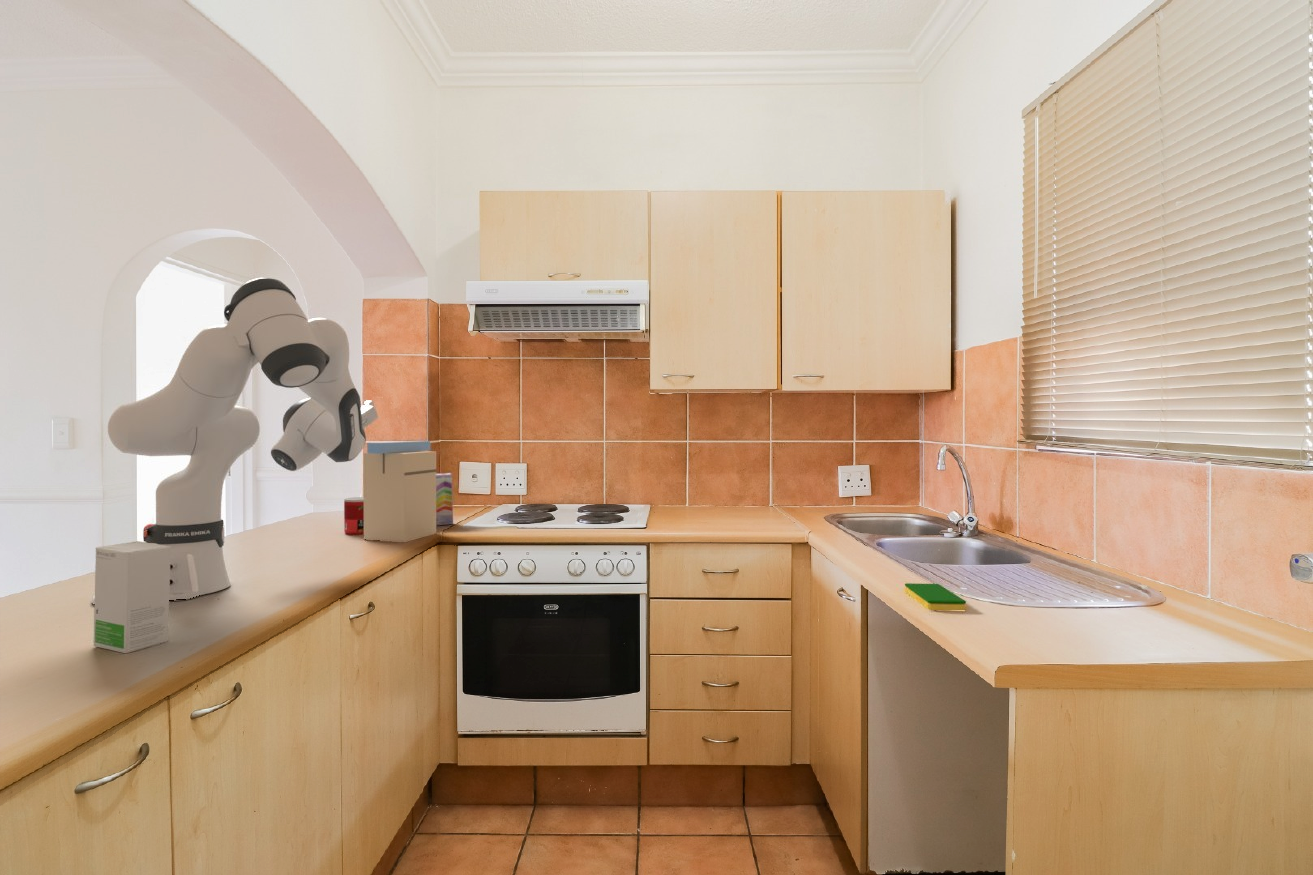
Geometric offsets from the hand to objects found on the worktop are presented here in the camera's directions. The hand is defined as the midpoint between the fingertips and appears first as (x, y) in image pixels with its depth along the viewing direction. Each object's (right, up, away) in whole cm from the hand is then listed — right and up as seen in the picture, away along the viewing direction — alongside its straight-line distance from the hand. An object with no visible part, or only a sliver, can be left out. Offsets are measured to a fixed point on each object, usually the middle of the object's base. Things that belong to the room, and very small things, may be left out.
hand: (356, 402), depth 182 cm
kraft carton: (+5, -40, +20) cm, 45 cm away
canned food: (-11, -40, +25) cm, 49 cm away
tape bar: (+5, -14, +19) cm, 24 cm away
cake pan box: (+4, -40, +41) cm, 58 cm away
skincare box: (+1, -42, -79) cm, 89 cm away
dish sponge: (+139, -43, -50) cm, 154 cm away
